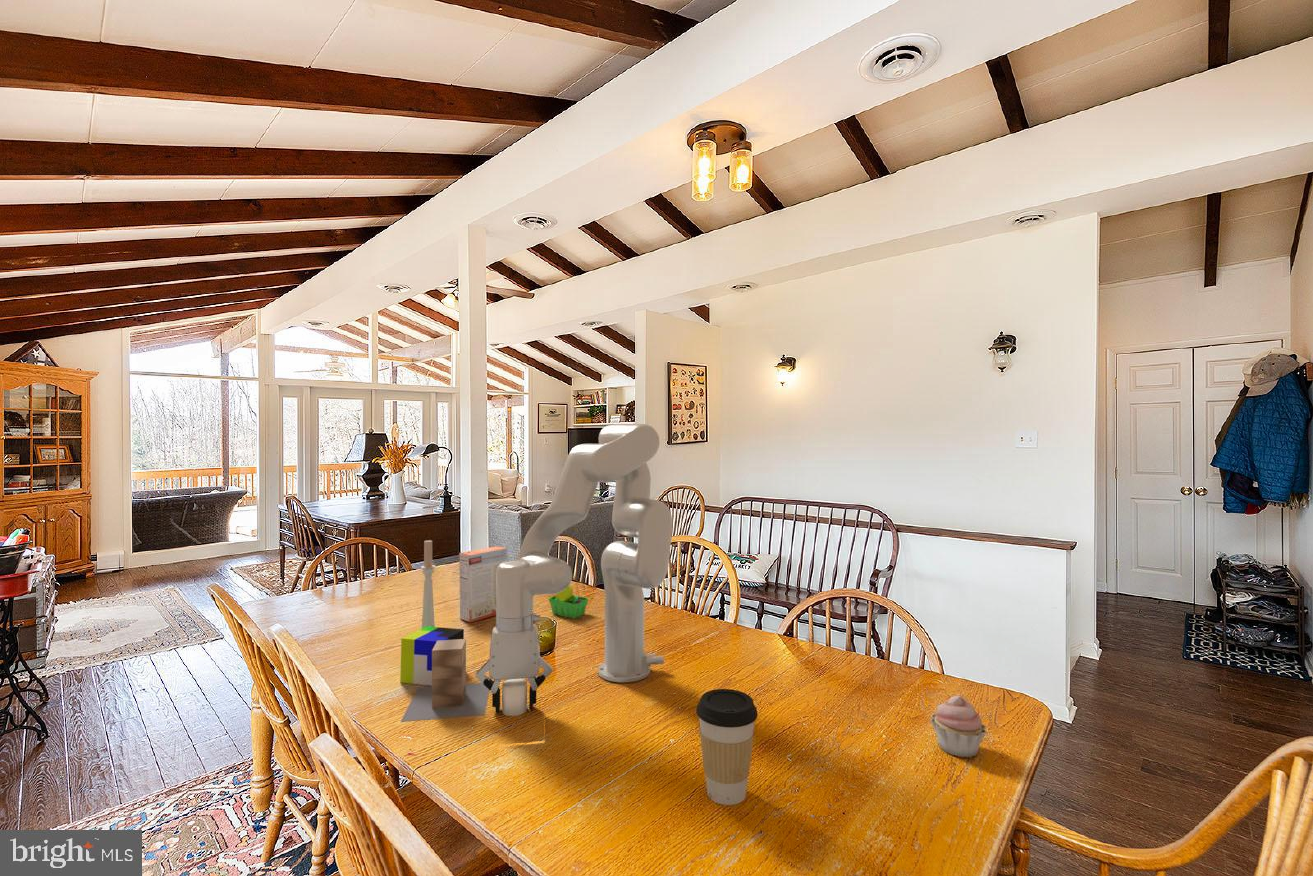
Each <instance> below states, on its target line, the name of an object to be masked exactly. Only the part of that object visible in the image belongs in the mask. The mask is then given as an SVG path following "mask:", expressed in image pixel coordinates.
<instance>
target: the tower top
mask: <svg viewBox="0 0 1313 876" xmlns="http://www.w3.org/2000/svg"><path fill="white" fill-rule="evenodd" d="M465 667H466V668H467V639H466V638H464V639H456V640H439V641H437V642H436V644H435V646H434V648H433V650H432V679H444V678H458V677H462V676H463V673H464V670H465Z"/></svg>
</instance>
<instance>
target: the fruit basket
mask: <svg viewBox="0 0 1313 876" xmlns="http://www.w3.org/2000/svg"><path fill="white" fill-rule="evenodd" d="M573 593H574V588H573V587H572V586H570V585H569V586H568V587H567V588H566V589H565V590H563V591H562V592H559V593H557V594H555V595H553V596H550V597H548V601H549V603H550V606H551V607H550V608H551V612H552V614H554V615H558V616H560V617H561V616H562V617H566V618H570V619H576V618H579V617H581V616H584V615H585V612H586V609H587V605H588V602H589V598H588V597H585V596H580V595H577V594H573Z"/></svg>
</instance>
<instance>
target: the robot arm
mask: <svg viewBox="0 0 1313 876" xmlns="http://www.w3.org/2000/svg"><path fill="white" fill-rule="evenodd" d="M659 448H660V436H659V433H658V432H657V430H656V429H655V428H654V427H653V426H651V425H649V424H644V423H615V424H609V425H606V426H604V427H603V428H602V429H601V430H600V432H599V434H598V443H581V444H577V445H575V446H574V447H572V448H571V450H569V451H570V452H569V453H568V456H567V458H566V459H565V460H566V461H565V462H564V463H565V464H564V466H563V469H562V472H561V474H560V477H559V480H558V483H557V485H556V488H555V491H554V493H553V497H552V499H551V501H550V504H549V505H548V507H547V508H546V509H545V510H544V511H543V512H542V513H541V515H540V516H539V517H538V518H537V520H535V522H534V523H533V525H531V526H530V528H529V530H528V531H527V532H526V534H525V537H524V539H523V541H522V544H521V546H520V549H519V552H518V554H517V559H516V560H509V561H508V560H507V562H504V563H501V564H500V565H499V566H498V567H497V570H496V615H495V626H494V627H493V628H492V631H491V638H490V643H489V644H490V645H489V657H488V660H486V662H485V663H484V664H483V665H482V666H481V667H480V668H479V669H478V670H477V672H475V678H476V679H477V680H478V681H479V682H480V683H483V684H484V685H485V686H486V687H487V688H488V689H489V690H490V691H489V692H490V693H491V694H492V695H491V696H492V697H491V698H492V699H491V702H492V704H491V705H492V708H495V714H498V713H500V709H501V688H500V684H501V682H502V681H507V680H509V679H527V682H528V683H529V691H528V693H529V695H528V696H529V697H528V698H529V699H528V700H529V702H528V703H529V705H528V707H529V708H528V710H530V711H534V705H537V690H538V688H539V687H540V686H541V685H542V684H543V683H544V682H545V680H546V679H547V678H548V677H549V676H550V675H551V674H552V673H553V667H552V665H550V664H549V662H547V661H546V659H544V658H543V657H542V656H541V655H540V654H541V653H540V652H541V651H540V649H541V648H540V637H539V632H538V631H539V630H538V625H537V624H535V623H539V622H541V614H535V613H534V596H538V595H539V596H541V595H545V596H546V595H556V594H557V593H559V592H562V591H563V590H565V589H566V588H567V587H568V586H570V585H571V582H572V580H573V570H572V569H571V568H572V567H571V566H570V565H569V564H568V563H567V562H566V561H565V560H563V559H561V558H557V557H554V556H552V555H550V551H551V549H552V546H553V545H554V544H555V543H554V542H556V539H557V538H558V537H559V536H560V535H561V534H562V533H563V532H564V531H566V530H567V529H569V528H571V527H572V526H575V525H577V524H579V523H581V522H582V521H584V520H585V519H586V518H587V516H588V515H589V511H590V508H591V506H592V502H593V499H594V496H595V493H596V491H597V487H598V485H599V483H605V484H606V483H613V482H615V490H614V497H613V507H612V515H611V525H612V526H613V529H614V531H615V532H617V534H618V533H619V534H620V535H623V536H626V537H627V536H628V537H630V538H631V537H632V538H635V539H637V542H632V541H626V540H618V541H617V540H616V541H613V542H611V543H610V544H608V545H607V546H606V547H605V548H604V550H603V552H602V554H601V558H600V569H601V574H602V579H603V586H604V587H603V588H604V661H603V662H601V663H600V664H599V665H598V668H597V669H598V671H597V672H598V675H599V676H600V678H602V679H604V680H606V681H608V682H613V683H632V682H638V681H642V680H643V679H645V678H647V677H649V675H650V674H651V666H652V665H663V664H664V655H657V653H647V652H646V651H645V595H644V594H645V593H644V590H643V589H646V590H648V589H649V590H651V589H655V588H658V587H659V586H660V585H661V584H662V583H663V582H664V580H665V579H666V576H667V573H668V570H669V561H670V553H671V545H672V536H673V535H672V534H673V517H672V513H671V510H670V508H669V507H668V505H667V504H665V502H663V501H661V500H658V499H652V498H651V497H650V496H651V495H650V494H651V480H652V479H651V478H652V477H651V472H650V468H649V465H648V462H649V461H651V459H652V458H654V457H655V455H656V454H657V453H658V450H659ZM540 668H541V669H543V671H542V672H541V673H540V674H539V672H540ZM487 672H488V673H489V676H487V674H486V673H487Z"/></svg>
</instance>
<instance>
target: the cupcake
mask: <svg viewBox="0 0 1313 876" xmlns="http://www.w3.org/2000/svg"><path fill="white" fill-rule="evenodd" d="M930 723H931V725H932V727H933V728H934V731H935V735H936V738H937V742H938V745H939V747H940V749H941V750H942V751H944V752H946V753H947V754H950V755H952V756H954V755H955V757H957V756H958V757H957V758H964V757H967V758H968V757H969V758H973V757H972V756H974V757H975V756H976V755H977V754H978V752H979V748H980V745H981V743H982V740H983V738H984V737H985V736H986V734H987V733H988V732H987V731H986V729H987V728H988V727H987V726H986V725H985V724H983V721H982V717H980V715H979V713H977V711H976V708H975V707H974V705H973V704H971V702H970V701H968V700H967V699H965V698H964V697H963V696H961V695H954V696H951V697H950V698H949V699H948V700H947V701H946V702H943V703H941V704H939V705H938V706H937V708H936V713H935V714H931V718H930ZM967 758H966V759H967Z"/></svg>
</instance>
